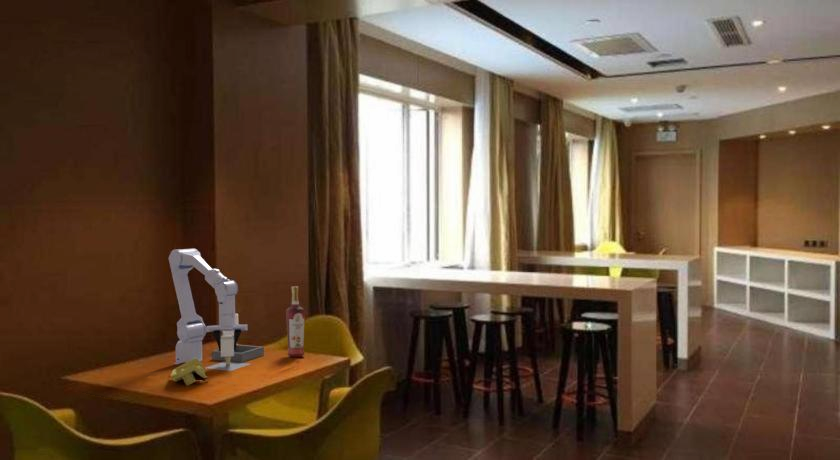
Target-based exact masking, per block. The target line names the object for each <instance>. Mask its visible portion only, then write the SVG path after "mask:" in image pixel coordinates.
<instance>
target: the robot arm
mask: <svg viewBox="0 0 840 460" xmlns="http://www.w3.org/2000/svg"><path fill="white" fill-rule="evenodd" d="M168 262H169V267H170V270H171V276H172V281H173V285H174V289H175V293H176V298H177V301H178V302H177V303H178V306H179V311H180V316H181V318H180V319H179V320H178V321H177V322H176V327H177V331H176V334H177V338H178V339H179V340H178V341H177V342H176V345H175V362H174V363H173V364H174V365H179V364H182V363H183V364H184V363H187V362H189V361H190V360H192V359H194V358H197V359H198V360H199V361H200V362H201V361H203V340H204V338H205V336H206V334H207V333H210V332H213V333H212V335H213V337H214V339H215V341H216V343H217V347H218V349H219V351H221V335H222V332H223V331H234V351H236V345H238V341H239V338H240V335H241V333H242V331H248V326H249V325H248V324H235V313H236V296H237V295H238V292H239V286H238V283H237V282H236V281H235V280H233V279H228V277H227V276H225V275H224V274H223V273H222V272H221V271H220V269H218V268H212V267H211V266H210V265H209V264H208V263H207V262H206V260H205V259H204V258H202V255H201V252H200V251H199V250H198V249H196V248H194V247H191V248H183V249H181V248H179V249H176V248H175V249H173V250H171V251H170V254H169V256H168ZM194 268H195V269H196V270H198V271H199V272H200V273H201V274H203V275H204V280H205V281H206V282H207V283H208V284H209V285H210V286H211V287H212V288H213V289H214V292H215V293H214V294H215V295H216V297H217V299H216V300H217V302H218V324H217V325H216V324H215V325H206V324H205V323H204V320H203V317H202V316H200V315H199V314H197V312H196V308H195V302H194V299H193V294H192V289H191V286H190V280H189V276H188V274H189V271H191V270H193V269H194Z"/></svg>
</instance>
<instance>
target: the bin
mask: <svg viewBox="0 0 840 460" xmlns="http://www.w3.org/2000/svg"><path fill="white" fill-rule="evenodd" d="M264 348H265V346H260V345H259V346H256V345H245V344H244V345H243V344H237V345H236V351H234V356H231V359H230V362H237V363H245V362H247V361H251V360H254V359H256V358H259V357H264V356H265V349H264ZM211 360H212V361H222V362H225V361H226V359H225V357H221V351H219V348H218V349H215V350H212V351H211Z"/></svg>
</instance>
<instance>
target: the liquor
mask: <svg viewBox="0 0 840 460" xmlns="http://www.w3.org/2000/svg"><path fill="white" fill-rule="evenodd" d="M291 294H292V295H291V304H290V305H291V306H290V307H288V308H286V309H285V319H286V320H285V321H286V331H287V351H288V352H287V354H286V355H287V356H288V358H290V359H301V358H302V357H303V356H304V355H305V351H304V347H305V346H304V344H305V343H304V341H305V340H304V339H305V313H306V312H305V310H306V309H305V308H303V307H302V306H300V301H299V286H291Z"/></svg>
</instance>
